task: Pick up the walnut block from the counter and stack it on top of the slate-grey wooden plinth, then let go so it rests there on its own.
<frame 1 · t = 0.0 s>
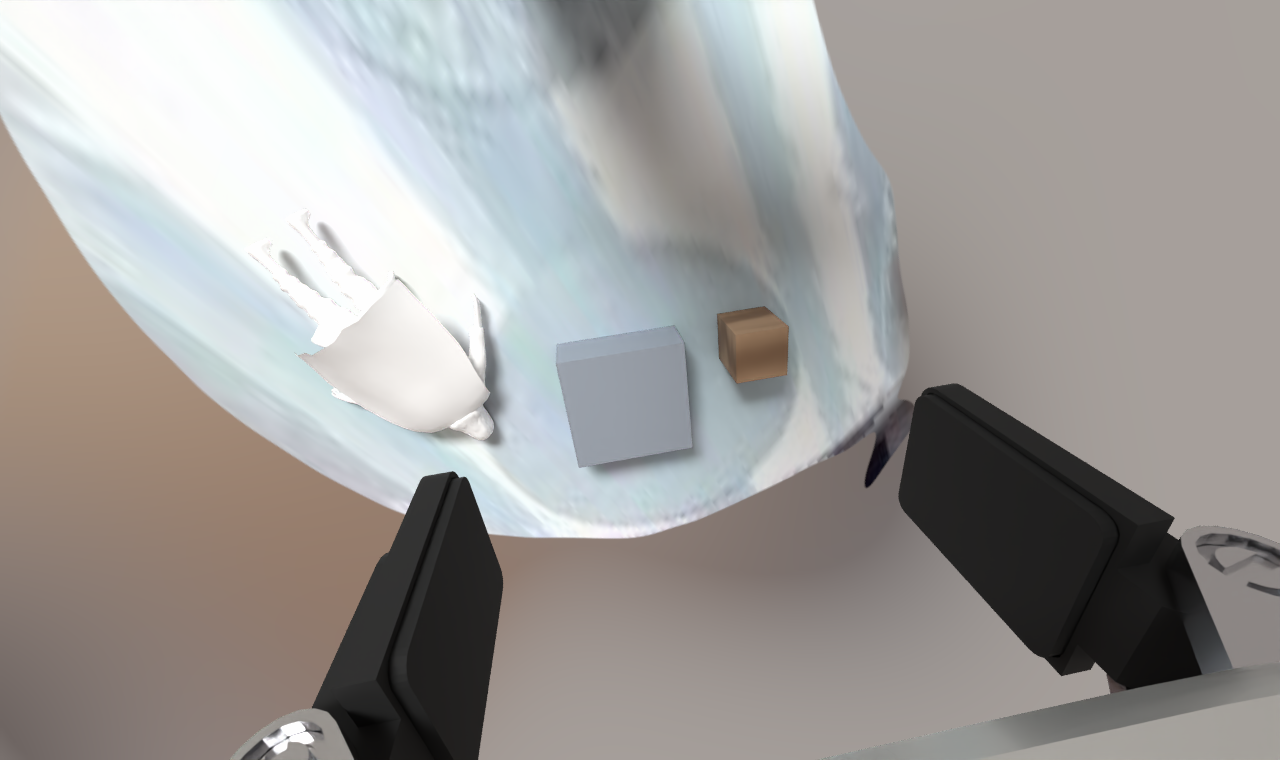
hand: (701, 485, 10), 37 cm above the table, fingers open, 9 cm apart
walnut block: (741, 332, 49), on the table
figurine: (405, 336, 45), on the table
plinth: (623, 385, 51), on the table
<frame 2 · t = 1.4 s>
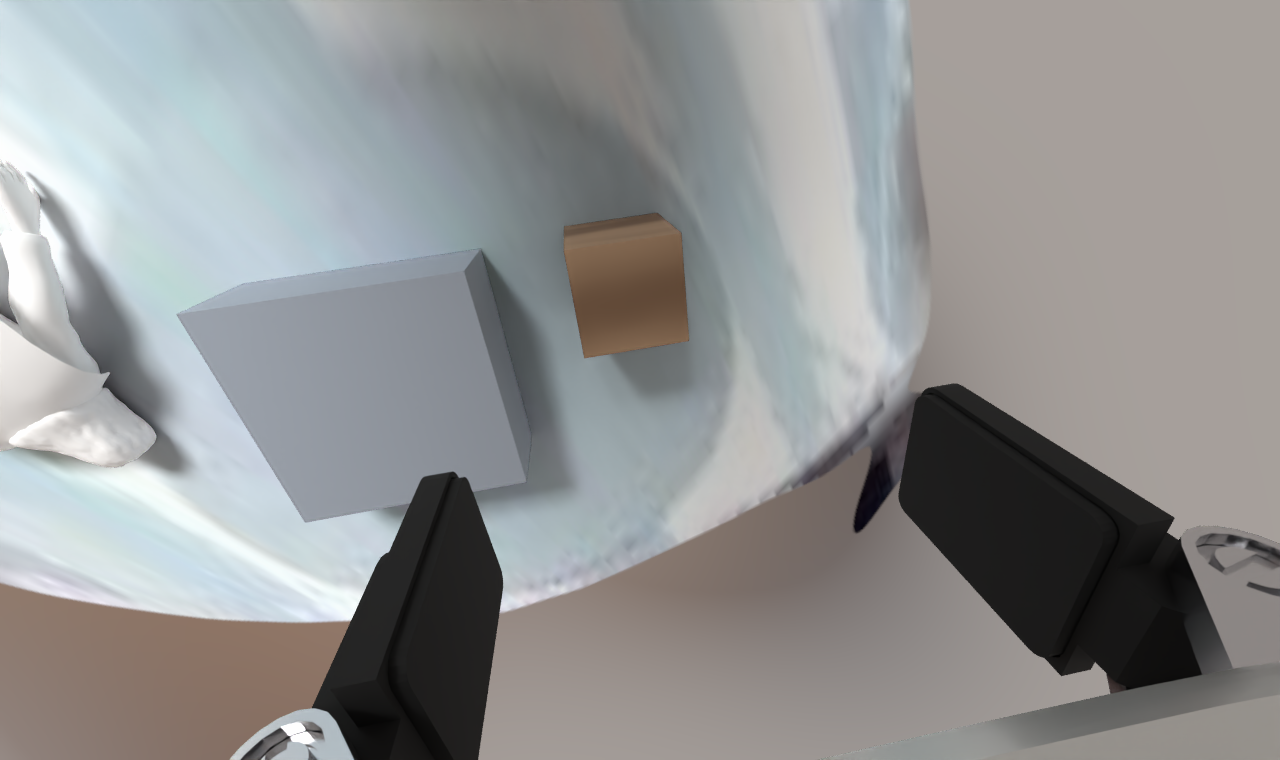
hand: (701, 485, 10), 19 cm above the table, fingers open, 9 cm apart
walnut block: (617, 265, 26), on the table
plinth: (406, 366, 27), on the table
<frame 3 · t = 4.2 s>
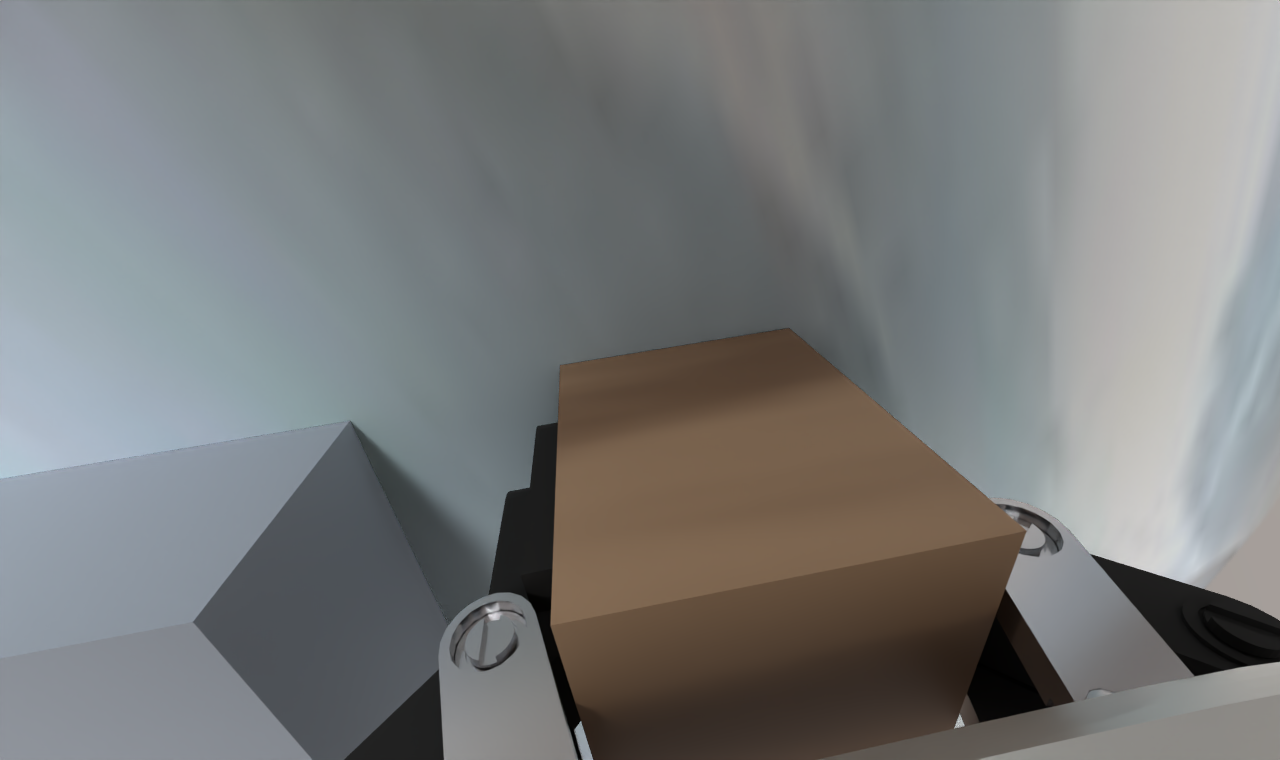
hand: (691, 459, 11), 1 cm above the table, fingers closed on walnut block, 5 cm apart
walnut block: (684, 441, 11), on the table, touching gripper
plinth: (214, 641, 13), on the table
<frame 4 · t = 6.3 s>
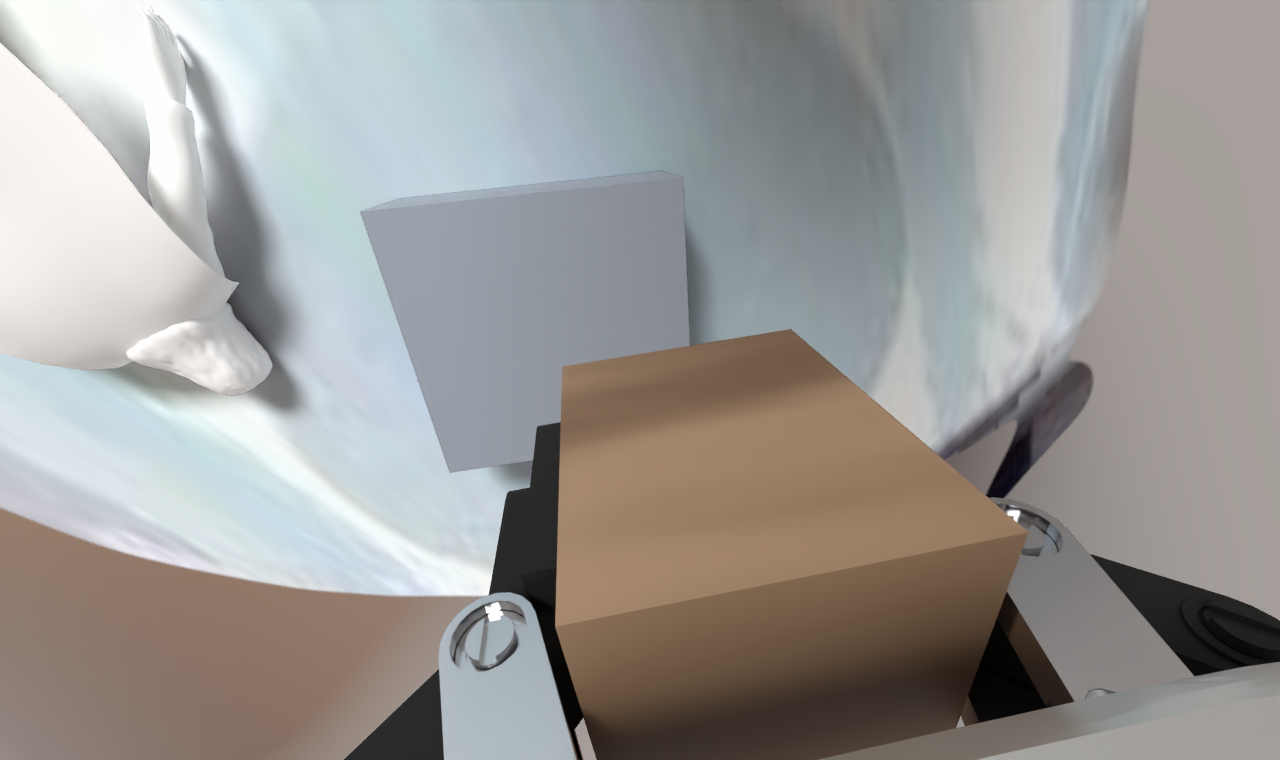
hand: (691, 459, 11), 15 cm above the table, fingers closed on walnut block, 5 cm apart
walnut block: (686, 442, 11), point 15 cm above the table, touching gripper
figurine: (14, 133, 19), on the table
plinth: (556, 305, 25), on the table
when the fingers open (7 cm above the table, at t = 8.9 s): walnut block drops 2 cm, resting on plinth.
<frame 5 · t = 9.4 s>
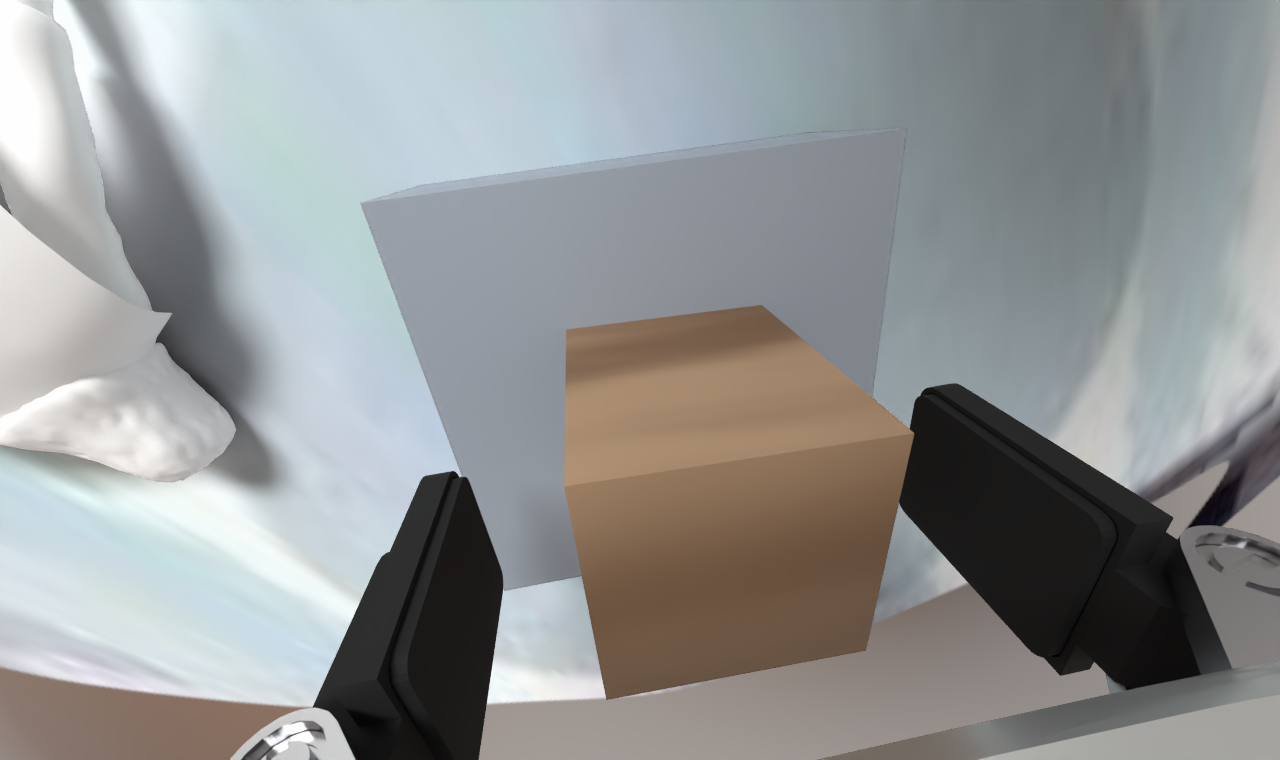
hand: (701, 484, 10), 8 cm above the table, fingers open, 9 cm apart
walnut block: (670, 402, 13), point 5 cm above the table, touching plinth
plinth: (643, 335, 17), on the table, touching walnut block
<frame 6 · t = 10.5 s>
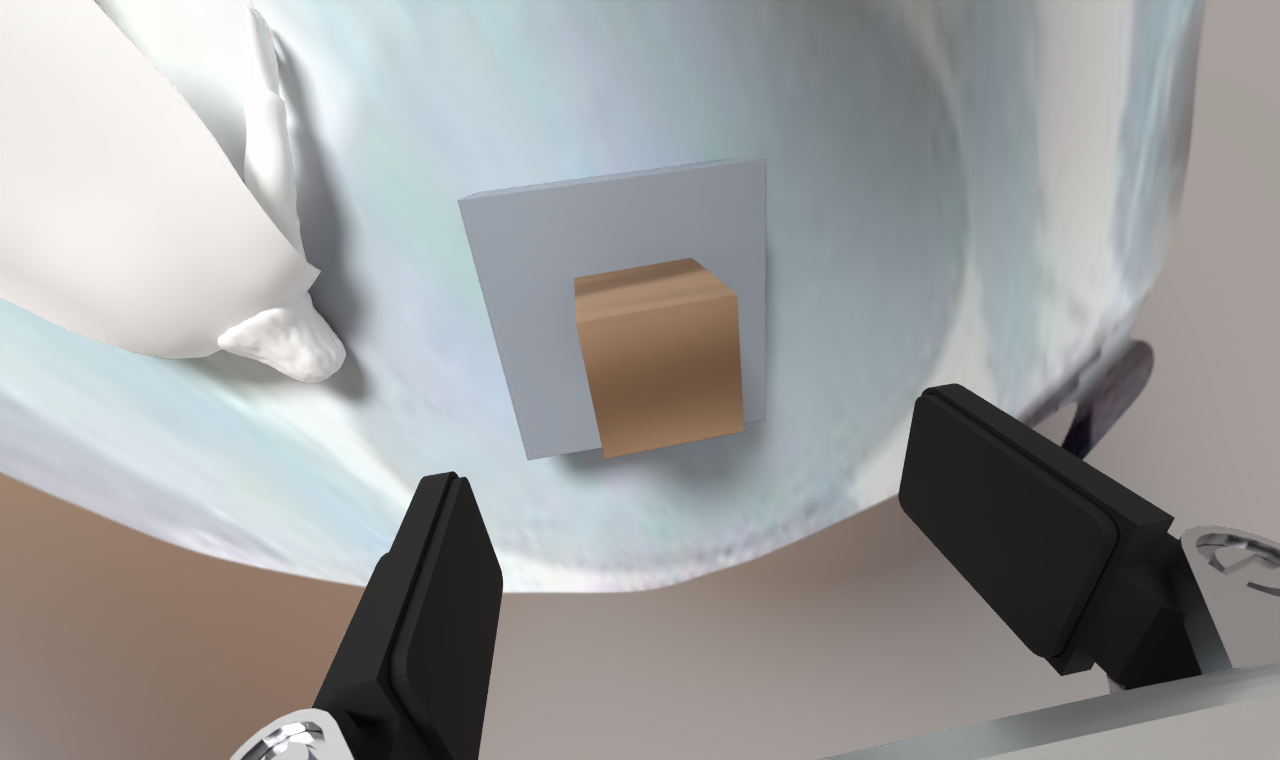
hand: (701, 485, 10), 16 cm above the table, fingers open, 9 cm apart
walnut block: (641, 324, 21), point 5 cm above the table, touching plinth
figurine: (111, 130, 19), on the table
plinth: (622, 295, 25), on the table, touching walnut block
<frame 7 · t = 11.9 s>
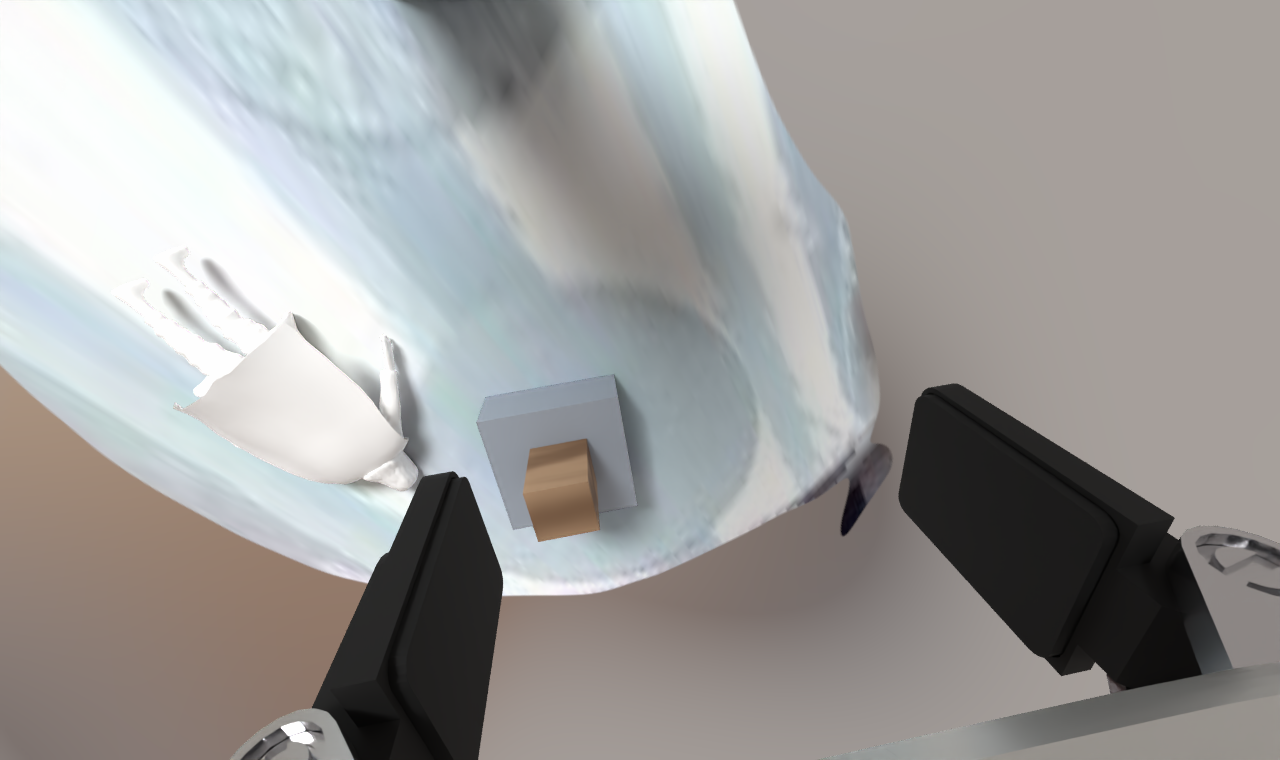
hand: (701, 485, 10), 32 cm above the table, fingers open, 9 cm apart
walnut block: (564, 466, 42), point 5 cm above the table
figurine: (314, 380, 41), on the table
plinth: (563, 437, 47), on the table
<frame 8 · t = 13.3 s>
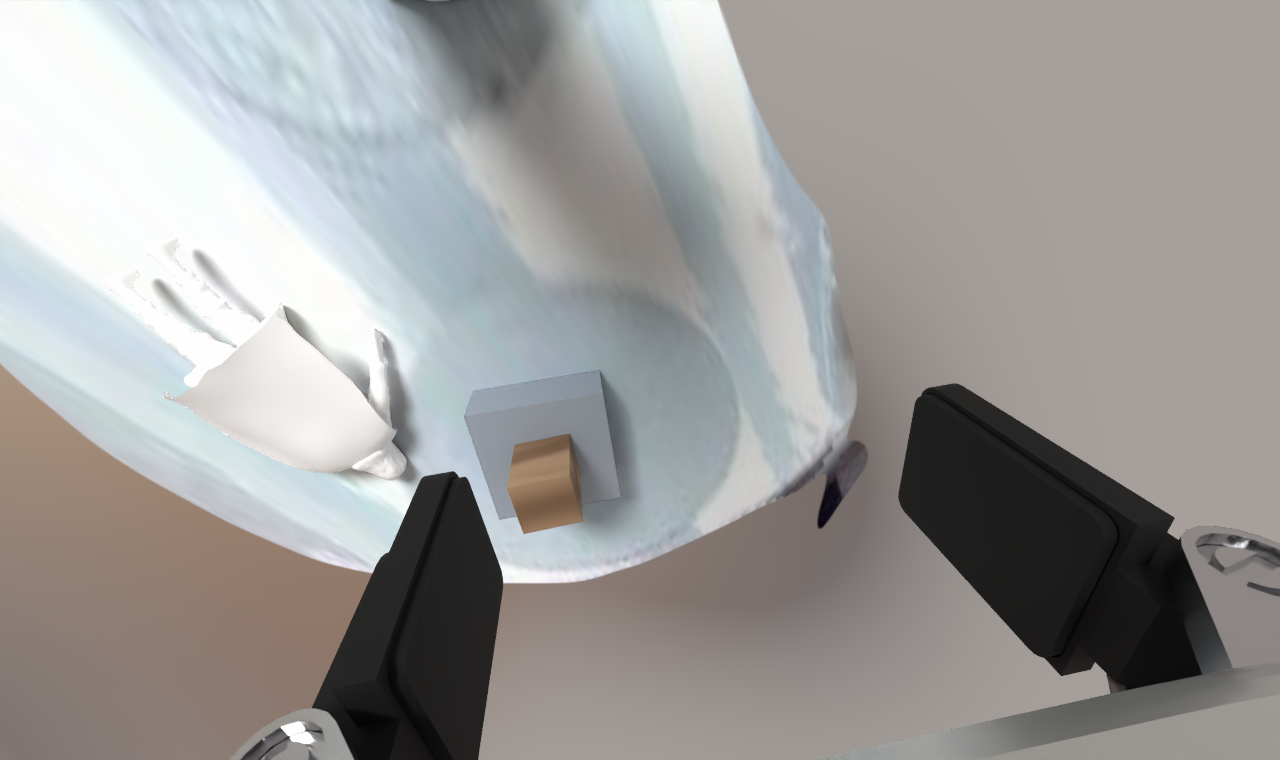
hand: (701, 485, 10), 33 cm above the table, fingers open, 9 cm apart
walnut block: (548, 461, 44), point 5 cm above the table
figurine: (303, 370, 42), on the table
plinth: (549, 430, 48), on the table
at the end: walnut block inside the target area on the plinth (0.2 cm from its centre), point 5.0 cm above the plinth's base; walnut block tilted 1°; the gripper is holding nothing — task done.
